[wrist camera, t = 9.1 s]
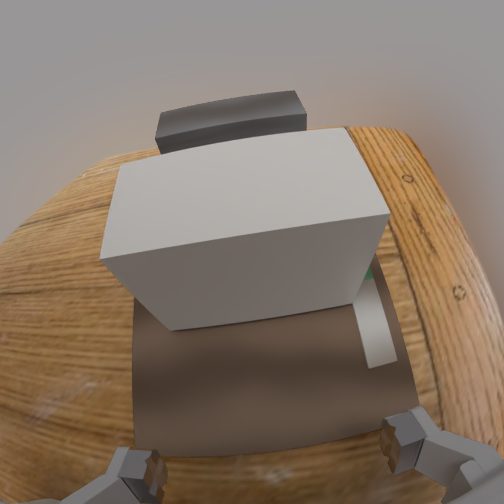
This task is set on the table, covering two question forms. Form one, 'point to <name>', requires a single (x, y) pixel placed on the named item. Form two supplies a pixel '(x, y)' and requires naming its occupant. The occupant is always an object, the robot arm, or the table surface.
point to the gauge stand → (265, 341)
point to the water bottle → (41, 501)
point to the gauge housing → (245, 228)
